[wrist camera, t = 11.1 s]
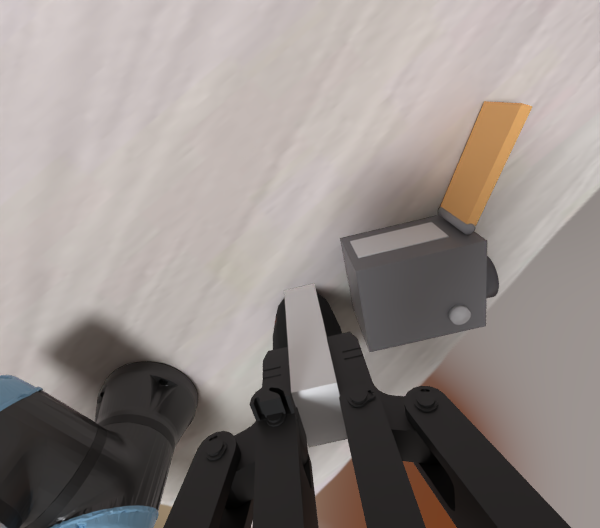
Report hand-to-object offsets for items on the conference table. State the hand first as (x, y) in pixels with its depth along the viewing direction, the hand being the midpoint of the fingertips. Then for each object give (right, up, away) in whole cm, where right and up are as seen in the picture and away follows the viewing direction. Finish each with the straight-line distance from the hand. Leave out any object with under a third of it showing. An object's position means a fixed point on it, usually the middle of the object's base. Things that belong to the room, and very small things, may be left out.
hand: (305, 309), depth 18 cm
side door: (+21, +15, +27) cm, 37 cm away
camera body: (+15, +3, +34) cm, 37 cm away
